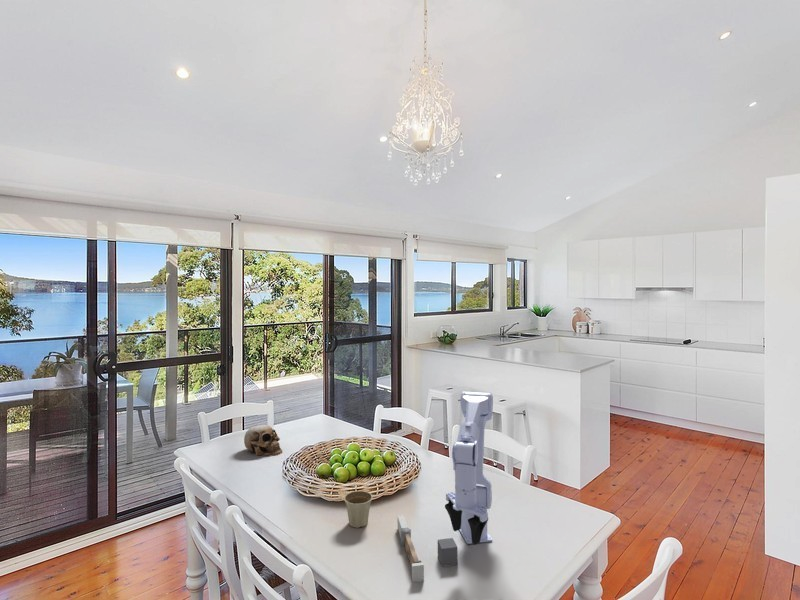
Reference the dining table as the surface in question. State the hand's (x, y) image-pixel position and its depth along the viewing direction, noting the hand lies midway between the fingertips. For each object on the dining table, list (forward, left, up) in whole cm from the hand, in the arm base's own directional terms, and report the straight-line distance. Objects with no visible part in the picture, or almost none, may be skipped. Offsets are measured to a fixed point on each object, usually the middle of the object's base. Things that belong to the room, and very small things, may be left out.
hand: (466, 536), depth 117 cm
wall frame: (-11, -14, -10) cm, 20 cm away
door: (-7, -13, -9) cm, 18 cm away
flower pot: (-30, -27, -10) cm, 42 cm away
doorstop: (-5, -4, -10) cm, 12 cm away
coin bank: (-105, -67, -10) cm, 125 cm away
